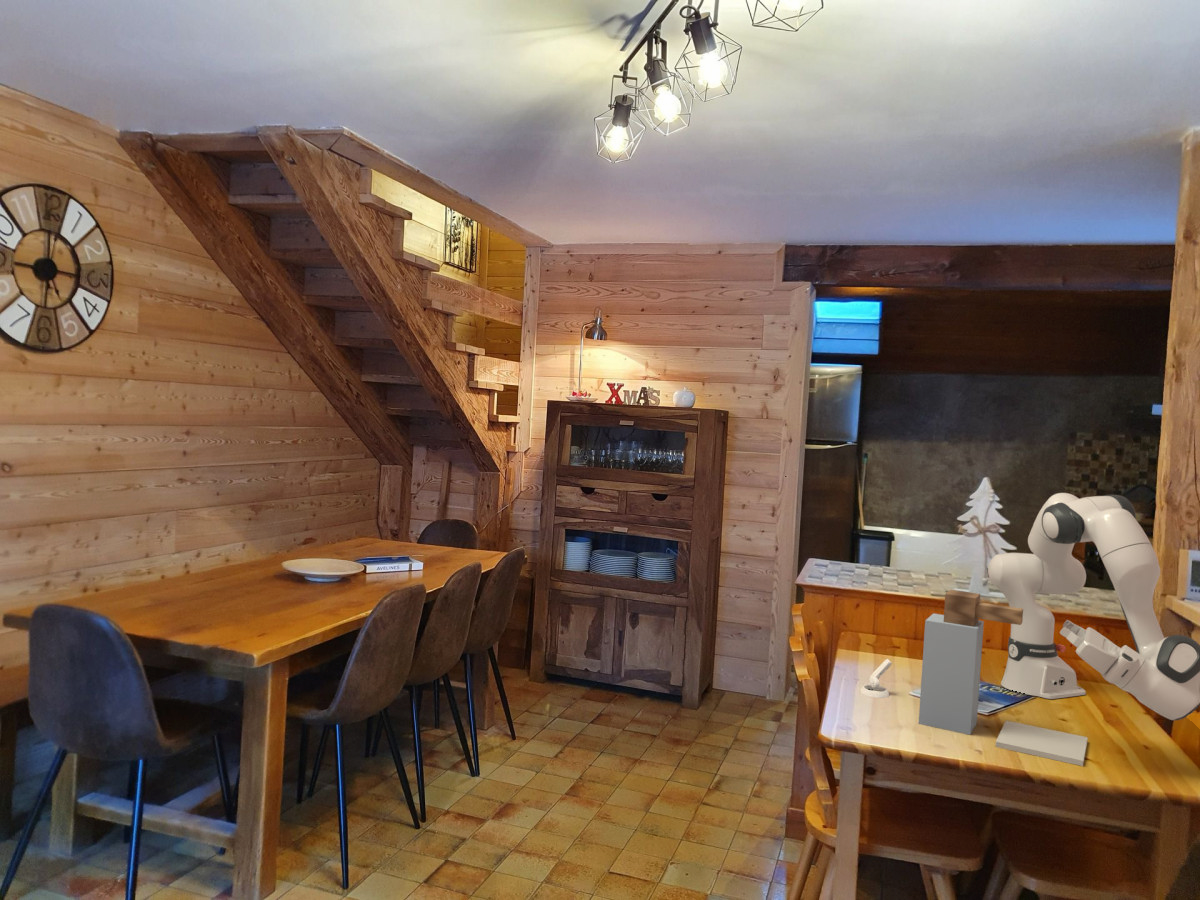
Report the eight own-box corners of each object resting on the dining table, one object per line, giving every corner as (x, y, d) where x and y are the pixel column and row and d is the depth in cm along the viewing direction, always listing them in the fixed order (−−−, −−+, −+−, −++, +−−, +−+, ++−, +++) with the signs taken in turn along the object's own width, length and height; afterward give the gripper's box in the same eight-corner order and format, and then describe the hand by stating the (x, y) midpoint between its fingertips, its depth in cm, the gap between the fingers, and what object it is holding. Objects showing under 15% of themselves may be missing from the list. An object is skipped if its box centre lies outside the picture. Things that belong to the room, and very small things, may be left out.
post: (976, 723, 221) (983, 621, 219) (970, 734, 212) (977, 628, 211) (926, 712, 227) (933, 613, 226) (918, 723, 218) (925, 620, 217)
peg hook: (1022, 628, 213) (1024, 600, 213) (1019, 634, 207) (1021, 604, 207) (948, 617, 222) (950, 589, 222) (943, 621, 216) (945, 593, 216)
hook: (912, 681, 237) (894, 667, 235) (882, 713, 239) (864, 699, 237) (900, 667, 244) (883, 653, 242) (871, 698, 246) (854, 685, 244)
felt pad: (1087, 742, 211) (1087, 737, 211) (1082, 766, 196) (1083, 760, 196) (1005, 725, 220) (1005, 720, 220) (995, 746, 205) (995, 741, 205)
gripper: (1129, 645, 208) (1074, 608, 214) (1128, 663, 190) (1068, 622, 197) (1112, 666, 210) (1058, 629, 216) (1110, 685, 192) (1051, 644, 198)
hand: (1063, 626), depth 206 cm, fingers open, 8 cm apart
